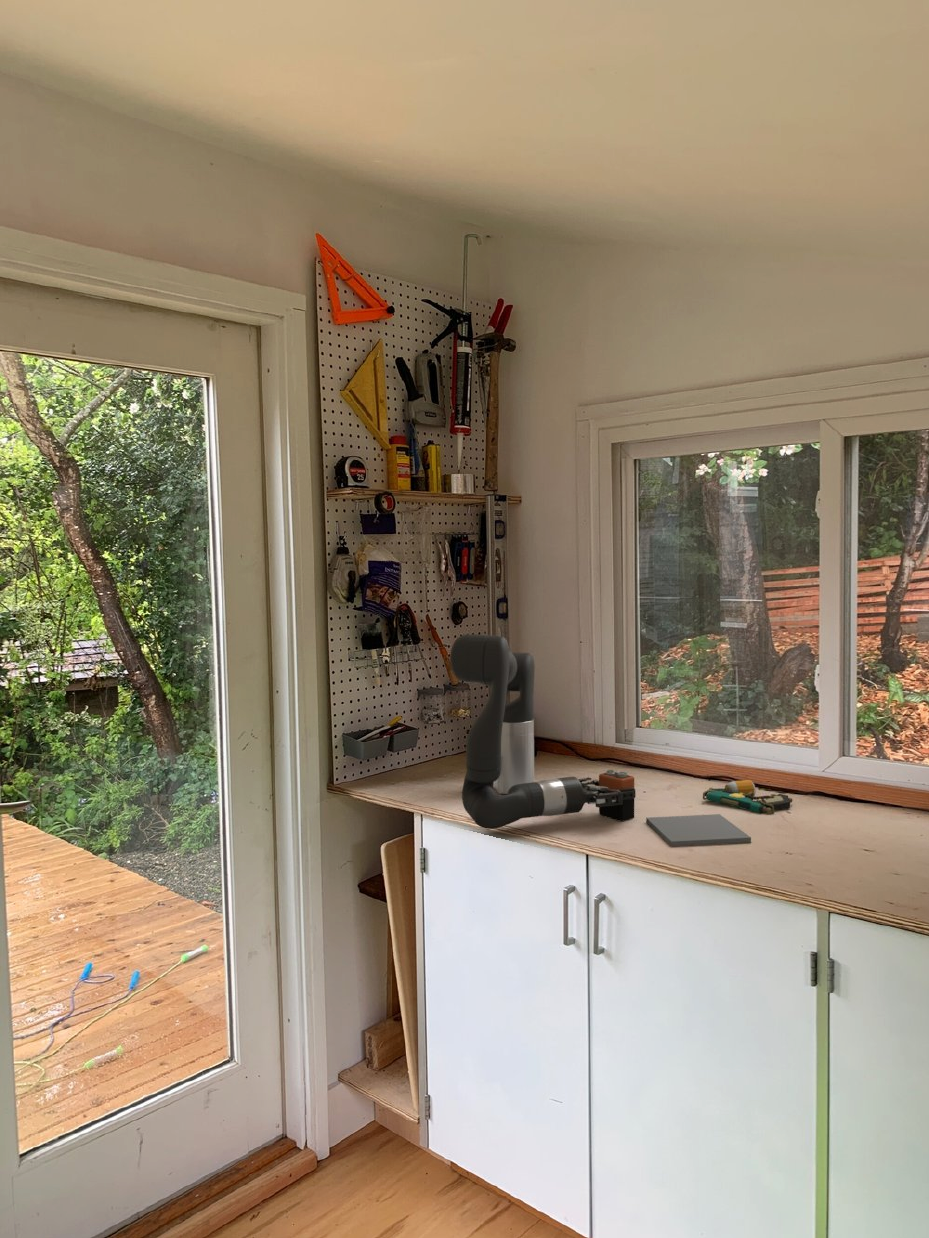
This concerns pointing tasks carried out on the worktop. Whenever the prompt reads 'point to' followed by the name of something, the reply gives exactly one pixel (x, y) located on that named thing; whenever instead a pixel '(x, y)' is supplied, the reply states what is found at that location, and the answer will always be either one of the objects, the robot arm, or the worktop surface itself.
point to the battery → (614, 782)
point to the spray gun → (747, 797)
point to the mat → (697, 830)
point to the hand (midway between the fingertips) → (624, 788)
